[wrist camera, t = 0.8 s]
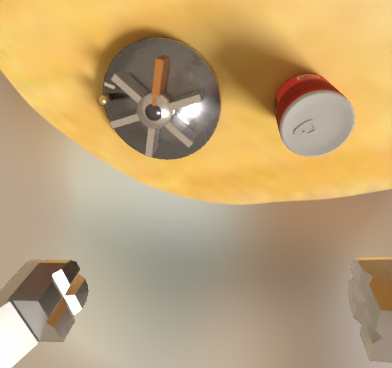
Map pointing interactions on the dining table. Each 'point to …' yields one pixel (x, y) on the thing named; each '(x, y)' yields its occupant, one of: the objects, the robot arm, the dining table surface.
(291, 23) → the dining table surface
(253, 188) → the dining table surface
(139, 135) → the disc
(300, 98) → the canned food
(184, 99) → the finned rotor disc
